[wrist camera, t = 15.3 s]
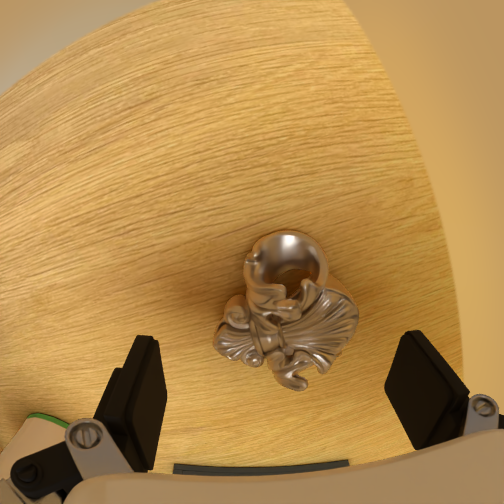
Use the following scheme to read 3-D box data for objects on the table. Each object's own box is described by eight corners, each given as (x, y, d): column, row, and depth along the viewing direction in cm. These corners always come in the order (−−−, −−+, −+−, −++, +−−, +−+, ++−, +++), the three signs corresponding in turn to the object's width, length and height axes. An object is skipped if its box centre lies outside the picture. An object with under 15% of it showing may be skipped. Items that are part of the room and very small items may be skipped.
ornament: (190, 251, 15) (176, 283, 11) (331, 214, 14) (358, 236, 11) (237, 375, 17) (237, 421, 14) (351, 347, 17) (371, 388, 14)
